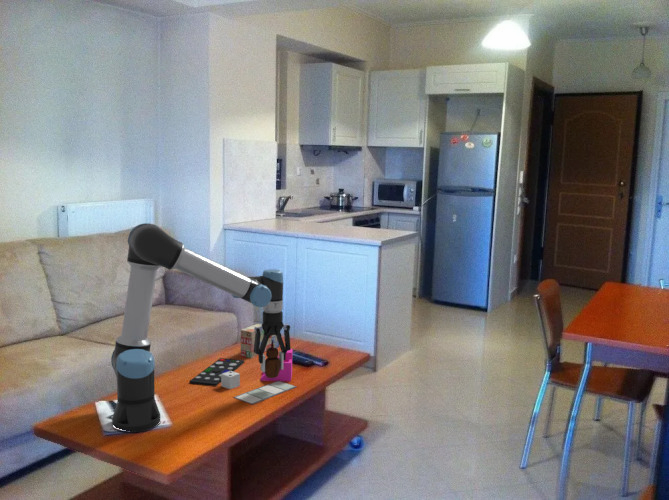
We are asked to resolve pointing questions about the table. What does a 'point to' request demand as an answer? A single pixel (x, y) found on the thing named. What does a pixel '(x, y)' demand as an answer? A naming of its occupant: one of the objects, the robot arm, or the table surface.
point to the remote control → (216, 371)
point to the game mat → (264, 392)
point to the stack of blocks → (249, 341)
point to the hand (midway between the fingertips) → (272, 369)
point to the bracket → (283, 374)
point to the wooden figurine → (272, 362)
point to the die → (230, 379)
